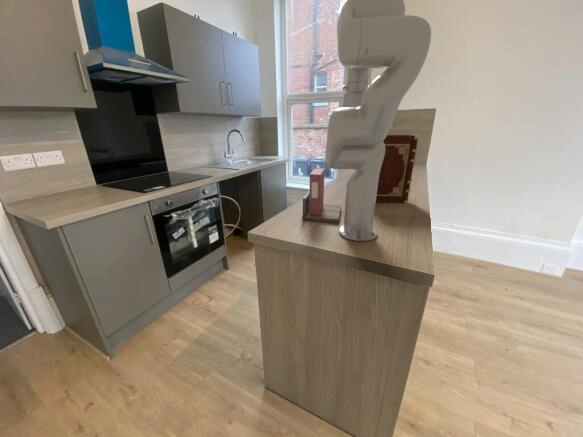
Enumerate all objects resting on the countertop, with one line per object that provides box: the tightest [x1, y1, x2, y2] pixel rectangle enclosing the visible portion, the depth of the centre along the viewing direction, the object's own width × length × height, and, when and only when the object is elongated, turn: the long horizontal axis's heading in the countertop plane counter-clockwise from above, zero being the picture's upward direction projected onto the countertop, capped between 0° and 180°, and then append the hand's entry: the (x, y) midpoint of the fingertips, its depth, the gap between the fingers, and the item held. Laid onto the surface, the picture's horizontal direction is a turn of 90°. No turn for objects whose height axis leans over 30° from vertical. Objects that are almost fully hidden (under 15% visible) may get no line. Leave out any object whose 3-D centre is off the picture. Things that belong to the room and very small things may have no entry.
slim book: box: [309, 168, 325, 215], centre depth 98 cm, size 12×4×16 cm, turn 166°
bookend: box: [302, 188, 310, 216], centre depth 100 cm, size 14×1×7 cm, turn 166°
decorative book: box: [376, 134, 420, 205], centre depth 111 cm, size 22×8×30 cm, turn 84°
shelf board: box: [301, 204, 342, 225], centre depth 100 cm, size 16×14×2 cm
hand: (353, 136), depth 96 cm, fingers open, 9 cm apart
